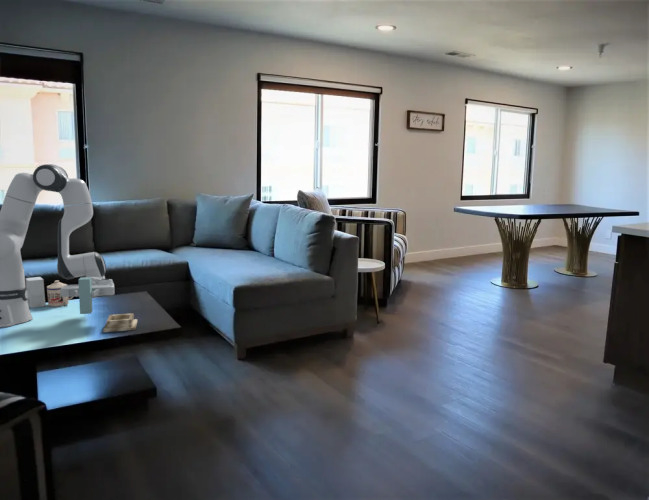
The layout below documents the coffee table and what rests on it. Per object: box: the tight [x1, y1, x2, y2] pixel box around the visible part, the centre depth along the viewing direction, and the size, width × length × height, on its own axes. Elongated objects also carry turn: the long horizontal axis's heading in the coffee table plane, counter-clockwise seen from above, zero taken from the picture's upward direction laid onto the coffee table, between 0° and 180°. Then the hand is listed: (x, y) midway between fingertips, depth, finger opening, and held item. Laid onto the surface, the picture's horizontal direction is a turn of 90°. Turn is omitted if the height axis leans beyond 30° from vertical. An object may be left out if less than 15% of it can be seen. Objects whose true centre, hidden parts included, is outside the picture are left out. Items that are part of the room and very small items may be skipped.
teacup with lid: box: [46, 279, 75, 308], centre depth 242 cm, size 12×9×12 cm
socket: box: [102, 312, 138, 333], centre depth 209 cm, size 12×12×4 cm
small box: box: [25, 276, 46, 309], centre depth 240 cm, size 8×6×13 cm
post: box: [78, 276, 94, 315], centre depth 203 cm, size 4×4×14 cm
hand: (85, 294), depth 202 cm, fingers closed on post, 4 cm apart
